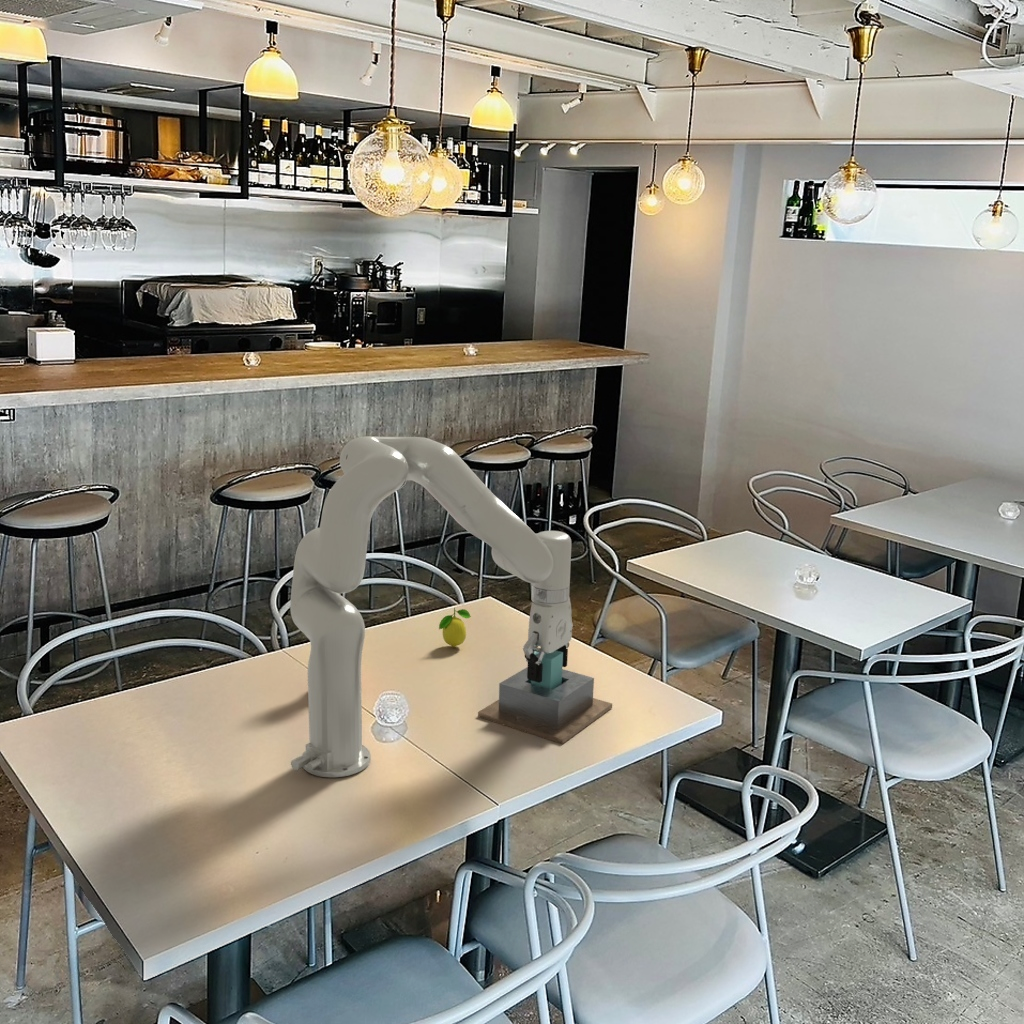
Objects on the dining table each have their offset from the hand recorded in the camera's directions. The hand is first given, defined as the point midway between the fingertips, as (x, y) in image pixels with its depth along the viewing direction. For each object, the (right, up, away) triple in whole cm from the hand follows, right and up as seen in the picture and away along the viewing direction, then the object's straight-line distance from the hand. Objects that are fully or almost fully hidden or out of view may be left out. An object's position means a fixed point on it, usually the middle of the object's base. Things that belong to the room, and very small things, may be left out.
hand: (547, 672), depth 215 cm
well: (0, -8, +2) cm, 9 cm away
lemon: (-21, +1, +35) cm, 41 cm away
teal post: (0, -7, +2) cm, 8 cm away
